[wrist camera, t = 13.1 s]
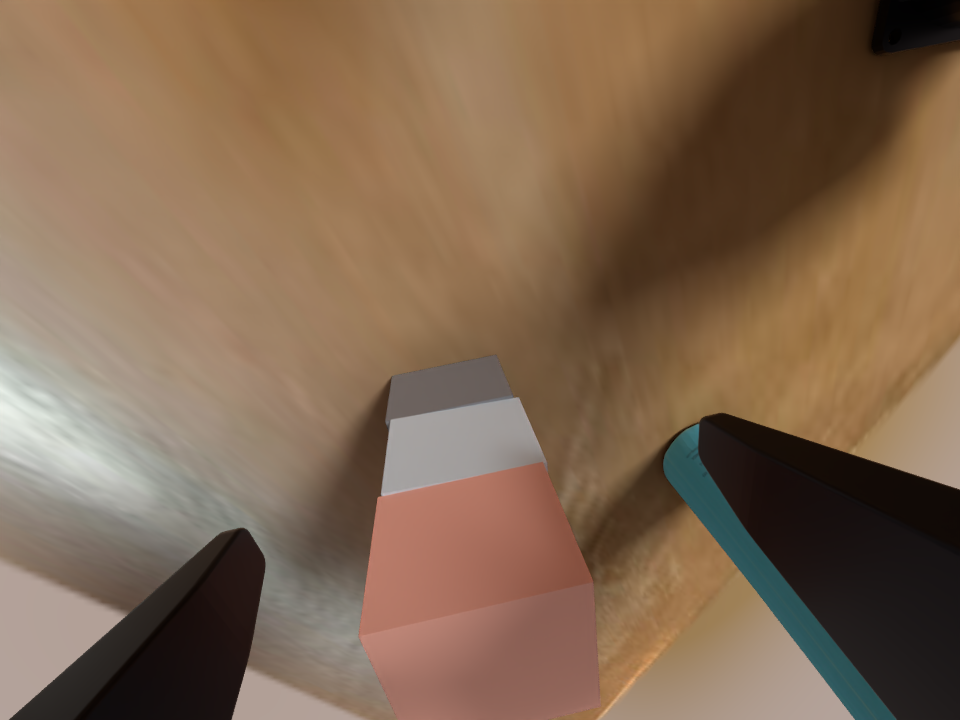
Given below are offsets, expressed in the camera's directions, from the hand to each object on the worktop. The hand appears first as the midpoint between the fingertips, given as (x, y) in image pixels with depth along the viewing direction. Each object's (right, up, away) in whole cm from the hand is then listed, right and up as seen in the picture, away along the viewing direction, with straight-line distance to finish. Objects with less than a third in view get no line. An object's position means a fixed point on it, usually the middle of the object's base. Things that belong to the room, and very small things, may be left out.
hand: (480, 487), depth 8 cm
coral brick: (0, -3, +5) cm, 6 cm away
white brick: (-1, -2, +9) cm, 9 cm away
